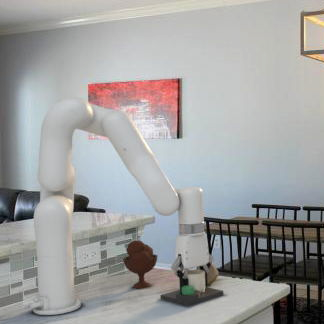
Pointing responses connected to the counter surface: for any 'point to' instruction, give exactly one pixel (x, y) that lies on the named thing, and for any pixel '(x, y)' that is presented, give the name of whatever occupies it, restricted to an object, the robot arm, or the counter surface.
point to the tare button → (188, 290)
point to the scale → (191, 296)
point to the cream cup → (196, 279)
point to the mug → (211, 274)
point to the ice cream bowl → (140, 261)
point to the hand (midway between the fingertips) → (193, 287)
